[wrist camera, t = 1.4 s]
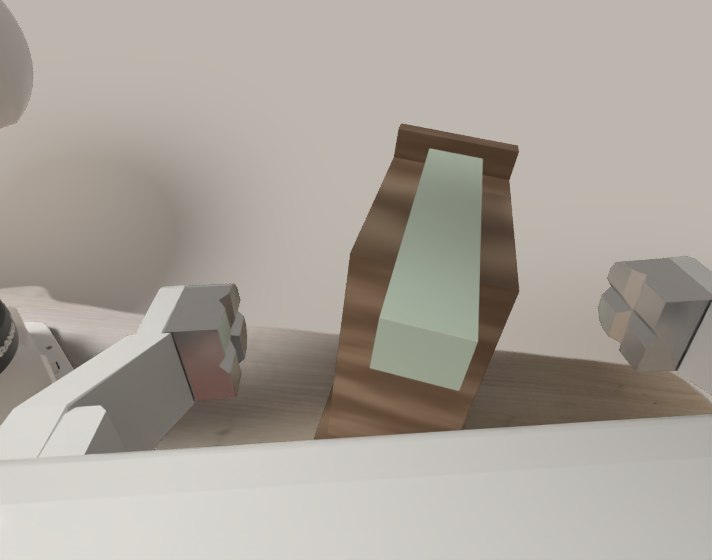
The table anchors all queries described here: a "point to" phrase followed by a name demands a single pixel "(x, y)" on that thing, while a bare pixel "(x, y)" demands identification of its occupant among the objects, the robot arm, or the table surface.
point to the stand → (371, 281)
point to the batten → (435, 278)
